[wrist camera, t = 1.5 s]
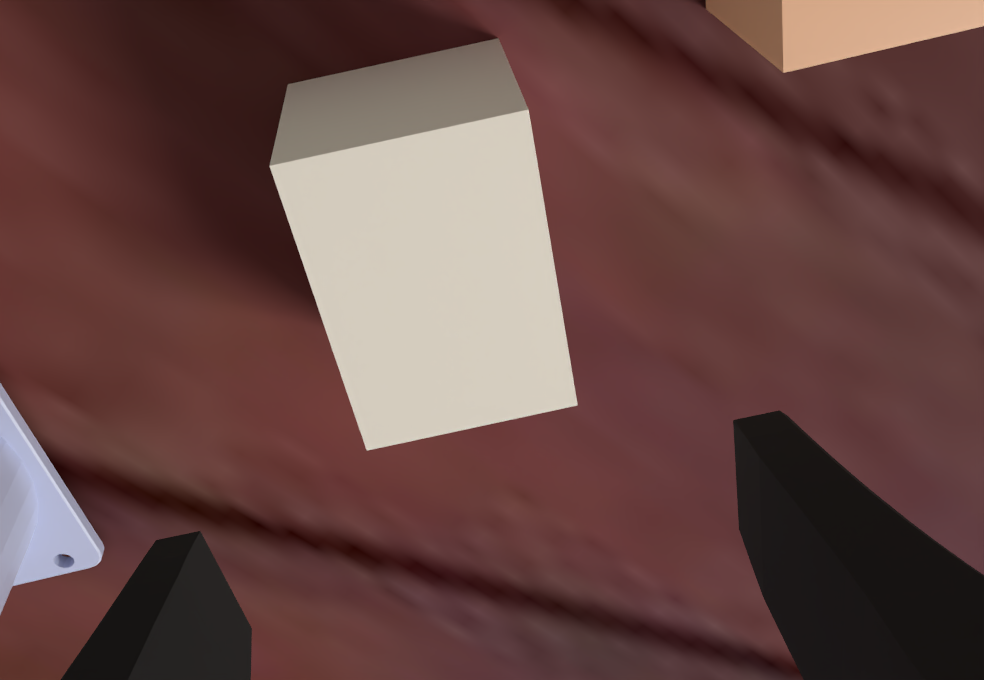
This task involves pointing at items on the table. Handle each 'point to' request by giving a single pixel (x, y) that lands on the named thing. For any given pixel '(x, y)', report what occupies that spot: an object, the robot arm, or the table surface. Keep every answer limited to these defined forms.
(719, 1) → the tan brick
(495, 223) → the cream brick
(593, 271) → the table surface
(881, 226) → the table surface
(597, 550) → the table surface
